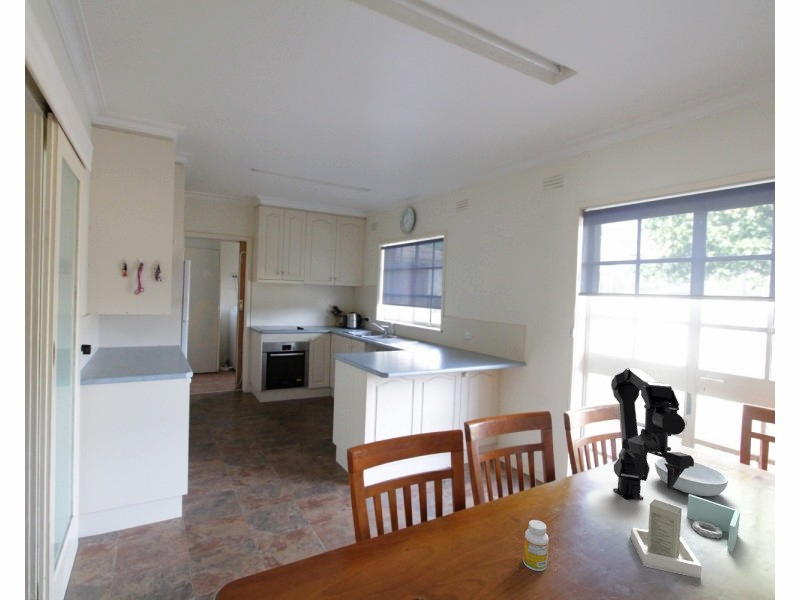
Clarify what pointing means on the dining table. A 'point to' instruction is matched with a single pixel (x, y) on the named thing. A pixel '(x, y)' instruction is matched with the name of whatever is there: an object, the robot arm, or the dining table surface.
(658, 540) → the skincare box
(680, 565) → the holder tray
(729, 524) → the right angle wall
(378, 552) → the dining table surface
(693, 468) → the serving bowl
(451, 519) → the dining table surface
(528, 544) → the supplement bottle
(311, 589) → the dining table surface
